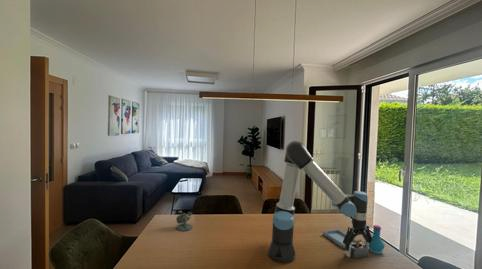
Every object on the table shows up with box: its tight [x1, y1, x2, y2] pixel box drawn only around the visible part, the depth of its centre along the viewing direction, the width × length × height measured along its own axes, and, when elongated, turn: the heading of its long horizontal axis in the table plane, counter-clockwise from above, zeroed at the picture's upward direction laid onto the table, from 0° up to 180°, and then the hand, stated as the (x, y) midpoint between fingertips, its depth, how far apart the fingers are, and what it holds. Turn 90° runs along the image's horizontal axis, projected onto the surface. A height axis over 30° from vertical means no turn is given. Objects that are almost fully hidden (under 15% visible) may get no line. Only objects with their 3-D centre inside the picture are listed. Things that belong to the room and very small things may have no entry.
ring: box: [350, 242, 369, 259], centre depth 142 cm, size 10×8×6 cm
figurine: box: [175, 210, 193, 232], centre depth 167 cm, size 11×11×12 cm
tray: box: [322, 228, 357, 250], centre depth 159 cm, size 13×20×2 cm, turn 20°
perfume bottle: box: [368, 224, 385, 254], centre depth 147 cm, size 9×9×15 cm
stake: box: [355, 239, 363, 247], centre depth 142 cm, size 4×2×9 cm, turn 110°
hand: (357, 254), depth 142 cm, fingers open, 13 cm apart
